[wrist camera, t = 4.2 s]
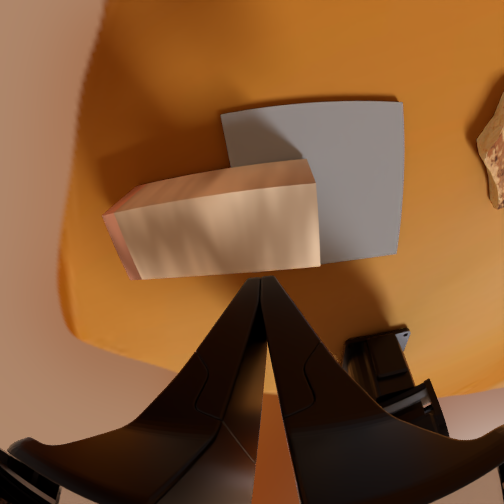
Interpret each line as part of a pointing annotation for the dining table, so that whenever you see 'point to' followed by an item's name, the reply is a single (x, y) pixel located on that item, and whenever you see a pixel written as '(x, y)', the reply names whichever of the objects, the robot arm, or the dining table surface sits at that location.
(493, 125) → the shard
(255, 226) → the block
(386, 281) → the dining table surface
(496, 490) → the robot arm
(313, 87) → the dining table surface
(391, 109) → the mat
